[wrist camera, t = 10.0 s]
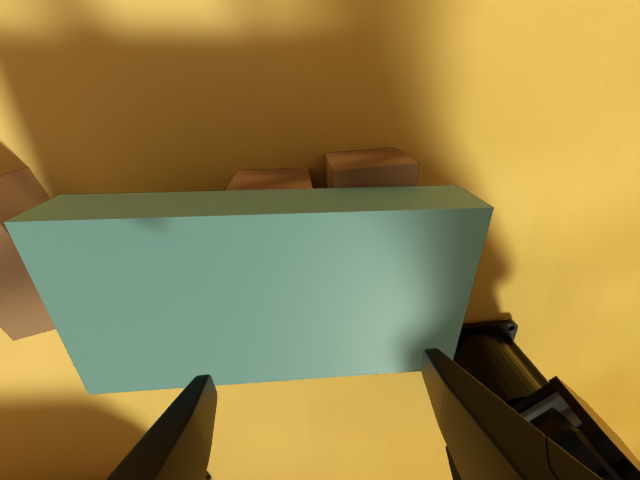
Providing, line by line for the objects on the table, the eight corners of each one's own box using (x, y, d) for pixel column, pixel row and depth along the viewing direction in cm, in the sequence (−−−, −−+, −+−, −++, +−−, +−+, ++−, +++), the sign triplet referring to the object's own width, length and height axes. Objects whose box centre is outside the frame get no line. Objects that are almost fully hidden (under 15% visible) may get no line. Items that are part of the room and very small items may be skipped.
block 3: (393, 146, 18) (419, 162, 15) (389, 264, 22) (409, 300, 18) (324, 153, 18) (333, 171, 14) (332, 271, 22) (340, 308, 18)
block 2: (308, 167, 18) (312, 188, 15) (311, 283, 22) (315, 322, 18) (237, 169, 18) (224, 191, 14) (252, 286, 21) (244, 327, 18)
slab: (457, 185, 15) (493, 207, 12) (428, 328, 19) (450, 368, 16) (59, 194, 14) (3, 222, 11) (118, 347, 18) (88, 394, 15)
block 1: (113, 283, 21) (80, 321, 17) (57, 299, 21) (13, 340, 18) (31, 166, 17) (-31, 187, 14) (-37, 186, 17) (-114, 212, 14)
